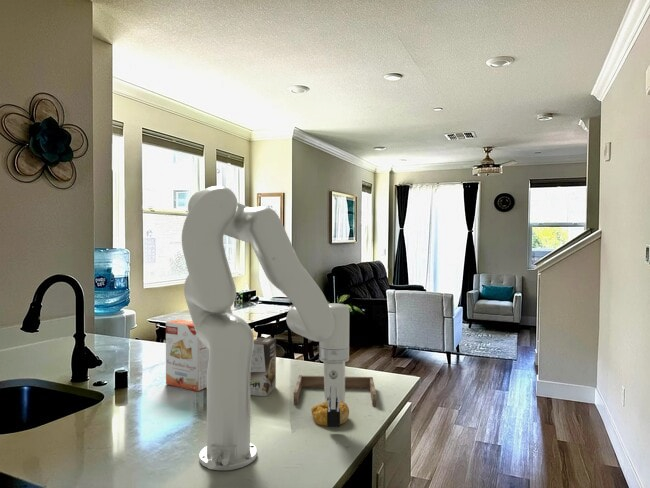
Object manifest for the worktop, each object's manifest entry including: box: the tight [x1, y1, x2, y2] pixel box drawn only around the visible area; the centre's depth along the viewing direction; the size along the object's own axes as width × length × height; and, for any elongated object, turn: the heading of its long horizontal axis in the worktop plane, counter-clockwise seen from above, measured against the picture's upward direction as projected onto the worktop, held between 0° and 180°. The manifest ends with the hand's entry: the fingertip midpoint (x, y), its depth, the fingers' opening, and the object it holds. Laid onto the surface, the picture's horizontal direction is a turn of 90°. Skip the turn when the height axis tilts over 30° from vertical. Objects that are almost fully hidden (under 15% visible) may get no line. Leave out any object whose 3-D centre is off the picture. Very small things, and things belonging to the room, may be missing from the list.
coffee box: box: [250, 337, 277, 397], centre depth 146 cm, size 9×6×16 cm
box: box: [293, 374, 377, 407], centre depth 143 cm, size 16×24×4 cm, turn 88°
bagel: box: [310, 401, 350, 427], centre depth 125 cm, size 10×11×5 cm
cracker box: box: [165, 318, 209, 392], centre depth 150 cm, size 14×6×21 cm, turn 62°
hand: (333, 425), depth 117 cm, fingers closed
